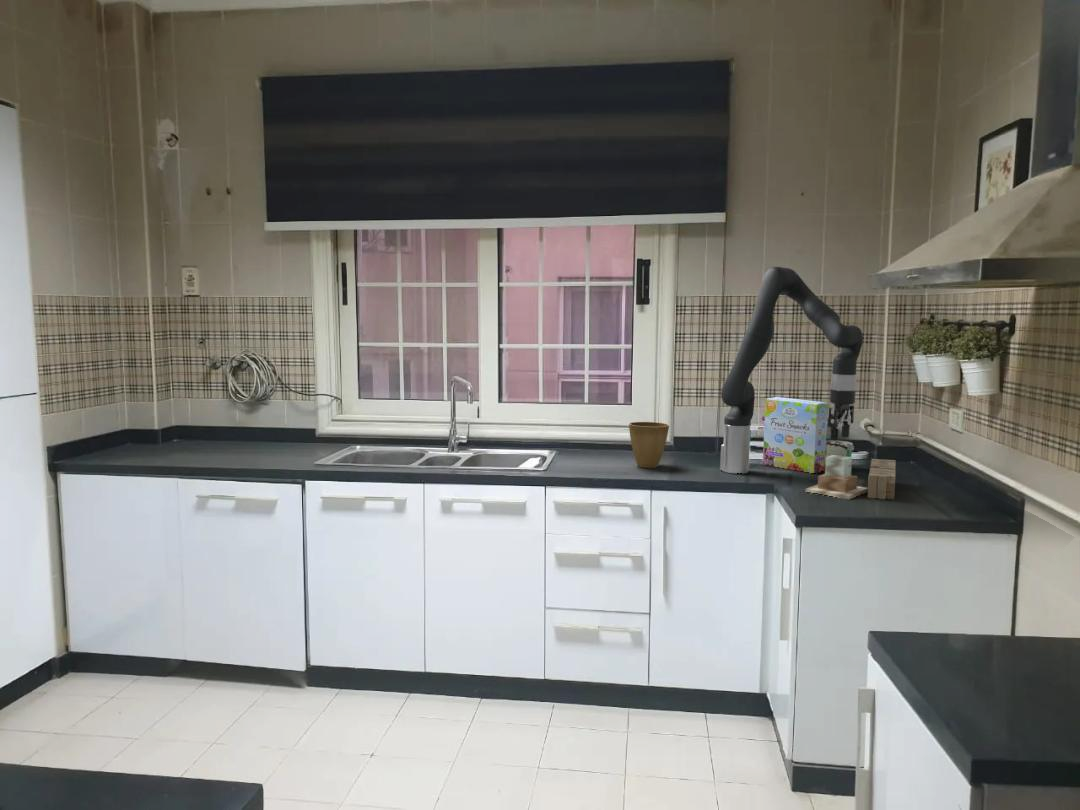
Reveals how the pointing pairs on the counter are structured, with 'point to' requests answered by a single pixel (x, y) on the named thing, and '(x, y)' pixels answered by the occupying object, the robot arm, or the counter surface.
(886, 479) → the block tower
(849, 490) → the base board
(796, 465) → the snack box
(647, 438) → the plant pot
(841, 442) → the food container
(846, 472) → the sage cube
